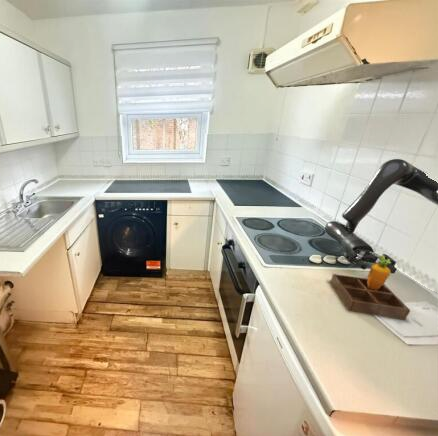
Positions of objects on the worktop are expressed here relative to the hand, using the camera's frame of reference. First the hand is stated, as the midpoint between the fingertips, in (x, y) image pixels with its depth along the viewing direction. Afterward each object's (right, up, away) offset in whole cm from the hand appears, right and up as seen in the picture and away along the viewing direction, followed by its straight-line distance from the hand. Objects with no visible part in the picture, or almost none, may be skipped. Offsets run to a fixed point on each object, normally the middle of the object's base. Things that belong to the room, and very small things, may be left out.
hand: (379, 269), depth 84 cm
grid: (-5, -11, +1) cm, 12 cm away
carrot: (0, -9, +3) cm, 10 cm away
